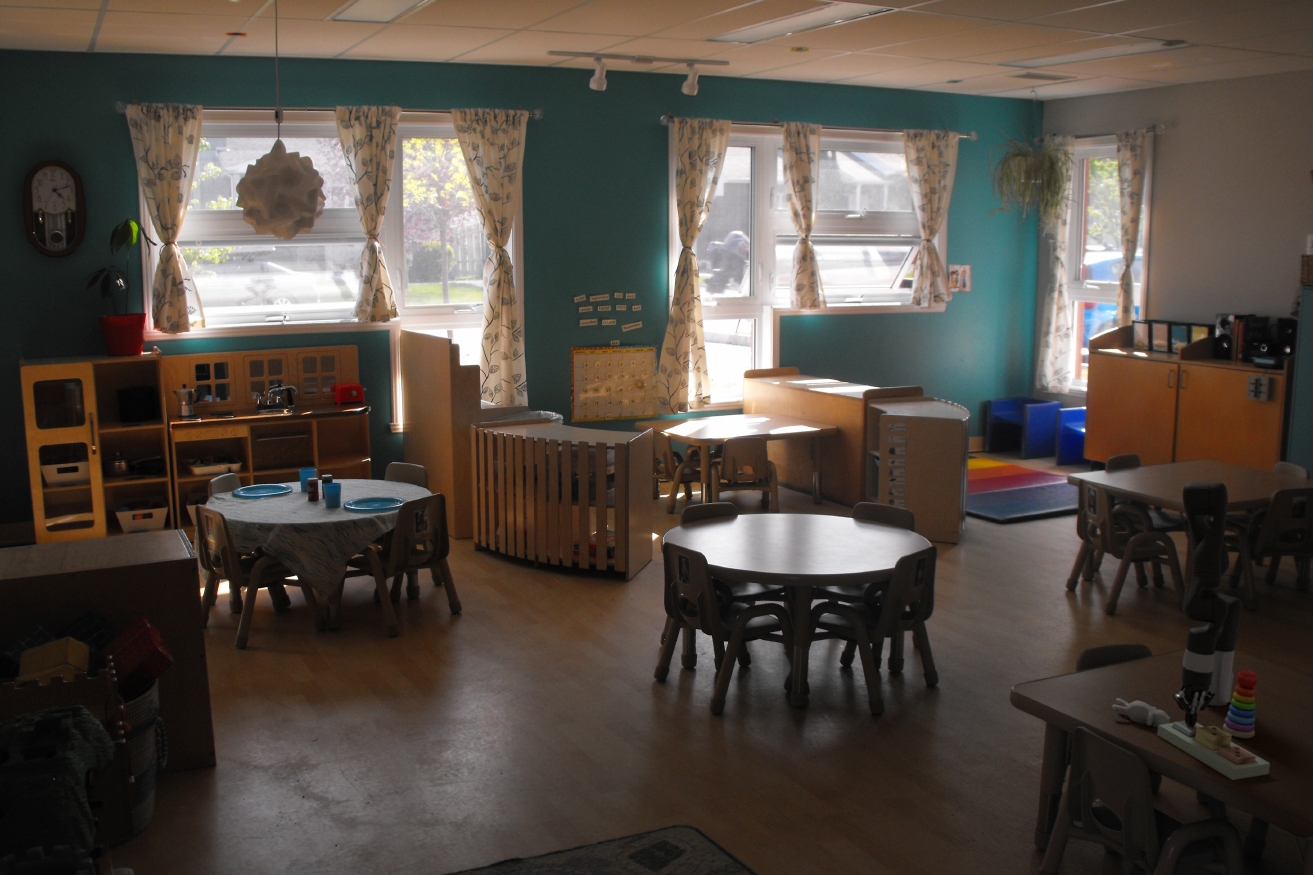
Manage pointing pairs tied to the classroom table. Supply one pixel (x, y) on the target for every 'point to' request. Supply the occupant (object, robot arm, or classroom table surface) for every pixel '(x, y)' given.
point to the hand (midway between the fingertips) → (1190, 724)
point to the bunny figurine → (1142, 712)
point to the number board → (1213, 755)
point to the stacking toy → (1242, 707)
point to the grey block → (1185, 728)
